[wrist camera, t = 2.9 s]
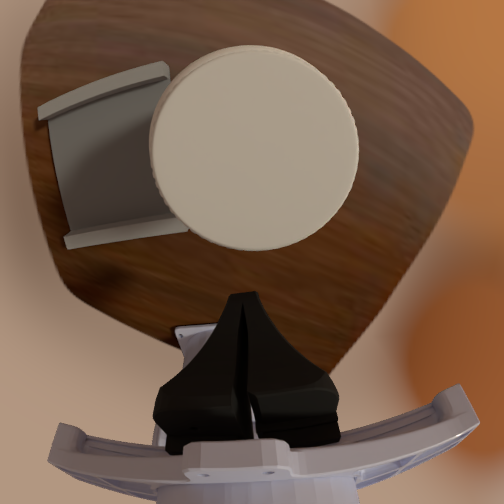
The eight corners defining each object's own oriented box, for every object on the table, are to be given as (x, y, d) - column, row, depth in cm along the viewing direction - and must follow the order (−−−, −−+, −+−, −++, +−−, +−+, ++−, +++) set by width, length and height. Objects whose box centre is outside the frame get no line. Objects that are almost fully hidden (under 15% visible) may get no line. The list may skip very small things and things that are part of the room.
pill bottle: (189, 183, 21) (116, 288, 8) (193, 83, 18) (114, 8, 4) (289, 188, 22) (374, 295, 8) (298, 90, 18) (413, 38, 5)
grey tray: (191, 222, 22) (187, 231, 21) (77, 240, 22) (67, 249, 20) (169, 66, 17) (162, 60, 15) (50, 107, 17) (37, 107, 15)
